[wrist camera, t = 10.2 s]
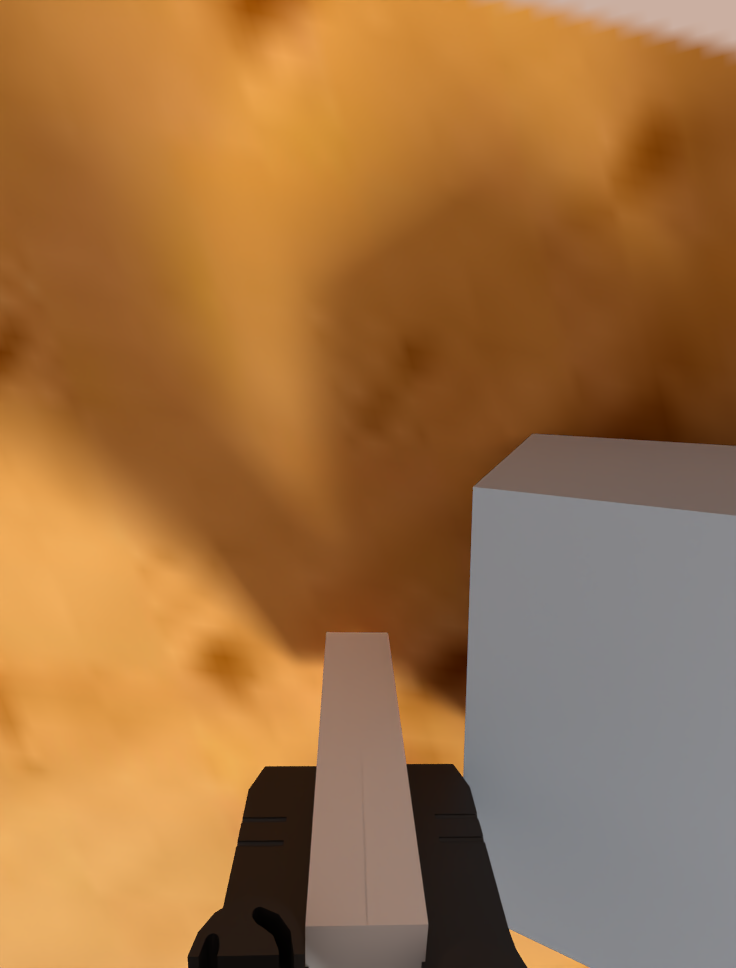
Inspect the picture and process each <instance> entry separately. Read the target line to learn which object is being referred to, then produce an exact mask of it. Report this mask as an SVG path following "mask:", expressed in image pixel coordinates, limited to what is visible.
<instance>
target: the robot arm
mask: <svg viewBox="0 0 736 968" xmlns="http://www.w3.org/2000/svg"><path fill="white" fill-rule="evenodd" d="M188 968H527V966H526V965H525V963H524V962H523V960H522V958H521V957H520V955H519V954H518V952H517V950H516V948H515V945H514V943H513V940H512V938H511V935H510V932H509V928H508V925H507V921H506V917H505V914H504V910H503V906H502V903H501V899H500V895H499V892H498V888H497V884H496V881H495V877H494V873H493V870H492V866H491V862H490V859H489V855H488V851H487V848H486V844H485V842H484V839H483V833H482V829H481V826H480V822H479V819H478V818H477V811H476V807H475V804H474V800H473V796H472V793H471V789H470V786H469V785H468V784H467V782H466V781H465V780H464V778H463V777H462V776H461V774H460V773H459V772H458V770H457V769H456V768H455V766H454V765H453V764H406V759H405V751H404V744H403V737H402V730H401V723H400V715H399V708H398V701H397V694H396V686H395V679H394V672H393V665H392V657H391V650H390V643H389V636H388V633H384V632H326V642H325V656H324V670H323V684H322V698H321V712H320V726H319V741H318V755H317V766H269V767H264V769H263V770H262V772H261V773H260V774H259V776H258V777H257V779H256V780H255V782H254V783H253V784H252V786H251V787H250V789H249V791H248V796H247V800H246V805H245V809H244V814H243V821H242V823H241V828H240V832H239V837H238V844H237V847H236V851H235V856H234V860H233V865H232V869H231V874H230V879H229V883H228V888H227V892H226V897H225V902H224V906H223V908H222V909H220V910H219V911H217V912H215V913H214V914H213V916H212V917H211V918H210V919H209V920H208V921H207V923H206V924H205V925H204V926H203V927H202V928H201V930H200V931H199V932H198V934H197V936H196V938H195V941H194V943H193V945H192V948H191V950H190V952H189V955H188Z"/></svg>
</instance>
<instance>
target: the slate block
mask: <svg viewBox="0 0 736 968" xmlns="http://www.w3.org/2000/svg"><path fill="white" fill-rule="evenodd" d="M463 778H464V780H465V781H466V782H467V784H468V785H469V786H470V789H471V793H472V796H473V800H474V804H475V807H476V811H477V818H478V819H479V822H480V826H481V829H482V833H483V839H484V842H485V844H486V848H487V851H488V855H489V859H490V862H491V866H492V870H493V873H494V877H495V881H496V884H497V888H498V892H499V895H500V899H501V903H502V906H503V910H504V914H505V917H506V921H507V925H508V928H509V929H511V930H513V931H515V932H517V933H519V934H521V935H523V936H525V937H527V938H530V939H532V940H534V941H536V942H538V943H540V944H542V945H544V946H546V947H548V948H550V949H552V950H555V951H557V952H559V953H561V954H563V955H565V956H567V957H569V958H571V959H573V960H575V961H577V962H580V963H582V964H584V965H586V966H588V967H590V968H736V446H729V445H713V444H697V443H680V442H664V441H647V440H631V439H614V438H598V437H581V436H565V435H548V434H532V435H531V436H529V437H528V438H527V439H526V440H525V441H524V442H523V443H522V444H520V445H519V446H518V447H517V448H516V449H515V450H514V451H513V452H512V453H510V454H509V455H508V456H507V457H506V458H505V459H504V460H503V461H501V462H500V463H499V464H498V465H497V466H496V467H495V468H494V469H492V470H491V471H490V472H489V473H488V474H487V475H486V476H485V477H483V478H482V479H481V480H480V481H479V482H478V483H477V484H476V485H474V486H473V502H472V533H471V563H470V594H469V624H468V655H467V685H466V716H465V746H464V777H463Z"/></svg>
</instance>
